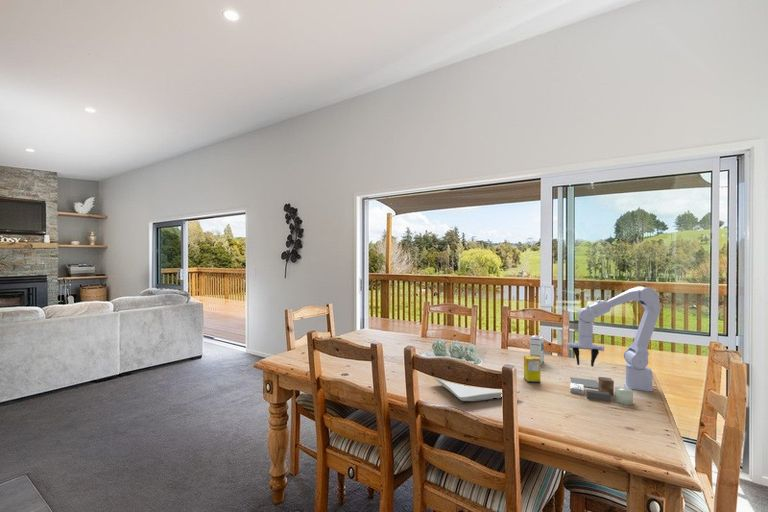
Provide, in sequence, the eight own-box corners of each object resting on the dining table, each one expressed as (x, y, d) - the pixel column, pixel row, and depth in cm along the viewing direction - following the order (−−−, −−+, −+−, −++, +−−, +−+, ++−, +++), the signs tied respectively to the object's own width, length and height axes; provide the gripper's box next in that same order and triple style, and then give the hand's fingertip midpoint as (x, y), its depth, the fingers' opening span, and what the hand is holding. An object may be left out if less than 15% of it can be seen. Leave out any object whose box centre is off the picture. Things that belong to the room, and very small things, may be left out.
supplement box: (536, 379, 175) (536, 355, 174) (540, 383, 169) (540, 359, 169) (523, 378, 175) (523, 355, 175) (527, 382, 169) (527, 358, 169)
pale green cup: (630, 400, 149) (631, 387, 149) (634, 406, 144) (634, 393, 144) (613, 398, 152) (613, 385, 152) (616, 403, 146) (616, 390, 146)
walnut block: (610, 391, 159) (610, 377, 159) (613, 395, 154) (613, 381, 154) (598, 390, 160) (598, 376, 160) (601, 394, 155) (601, 380, 155)
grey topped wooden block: (570, 388, 164) (570, 382, 164) (583, 390, 161) (583, 384, 161) (570, 393, 158) (570, 387, 158) (583, 395, 155) (583, 389, 155)
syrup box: (541, 366, 195) (541, 338, 195) (529, 363, 198) (529, 336, 198) (544, 363, 199) (544, 336, 199) (532, 361, 203) (532, 334, 203)
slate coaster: (596, 381, 171) (596, 380, 171) (600, 389, 161) (600, 388, 161) (570, 378, 175) (570, 377, 175) (572, 386, 165) (572, 384, 165)
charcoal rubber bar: (608, 399, 151) (608, 392, 151) (610, 402, 148) (610, 394, 148) (586, 396, 154) (586, 389, 154) (587, 399, 151) (587, 391, 151)
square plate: (460, 406, 143) (460, 396, 143) (431, 383, 170) (431, 374, 170) (520, 399, 151) (520, 389, 151) (484, 377, 177) (484, 369, 177)
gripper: (602, 334, 169) (602, 364, 169) (566, 332, 174) (566, 361, 174) (605, 338, 162) (604, 369, 162) (568, 335, 168) (567, 365, 168)
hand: (585, 365), depth 168 cm, fingers open, 5 cm apart
